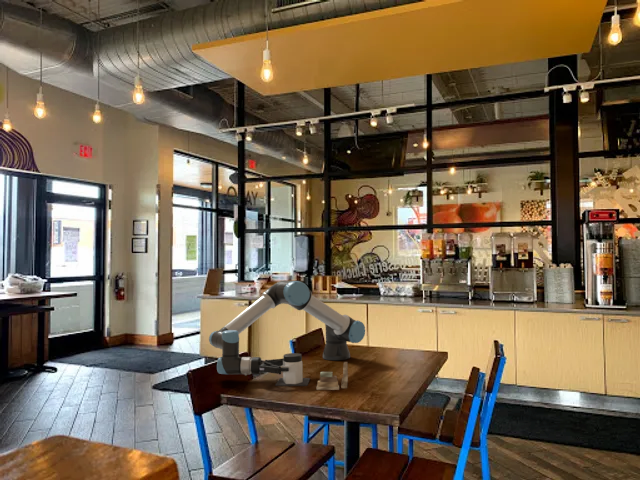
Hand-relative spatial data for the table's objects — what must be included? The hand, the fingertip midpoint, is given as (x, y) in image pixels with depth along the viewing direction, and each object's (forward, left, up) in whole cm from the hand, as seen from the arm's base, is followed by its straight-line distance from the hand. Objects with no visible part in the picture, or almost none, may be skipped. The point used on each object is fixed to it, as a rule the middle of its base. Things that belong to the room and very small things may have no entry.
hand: (298, 365), depth 213 cm
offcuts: (+17, -2, -6) cm, 18 cm away
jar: (-1, -2, -7) cm, 8 cm away
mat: (-2, -1, -7) cm, 8 cm away
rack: (+15, +5, -7) cm, 17 cm away
